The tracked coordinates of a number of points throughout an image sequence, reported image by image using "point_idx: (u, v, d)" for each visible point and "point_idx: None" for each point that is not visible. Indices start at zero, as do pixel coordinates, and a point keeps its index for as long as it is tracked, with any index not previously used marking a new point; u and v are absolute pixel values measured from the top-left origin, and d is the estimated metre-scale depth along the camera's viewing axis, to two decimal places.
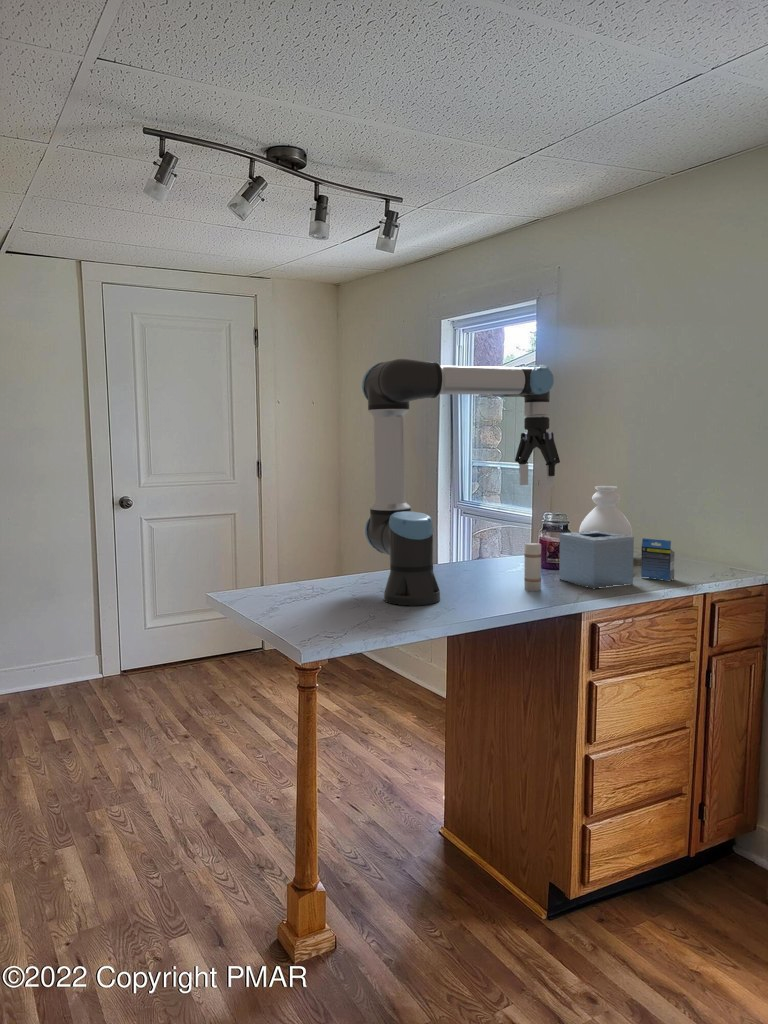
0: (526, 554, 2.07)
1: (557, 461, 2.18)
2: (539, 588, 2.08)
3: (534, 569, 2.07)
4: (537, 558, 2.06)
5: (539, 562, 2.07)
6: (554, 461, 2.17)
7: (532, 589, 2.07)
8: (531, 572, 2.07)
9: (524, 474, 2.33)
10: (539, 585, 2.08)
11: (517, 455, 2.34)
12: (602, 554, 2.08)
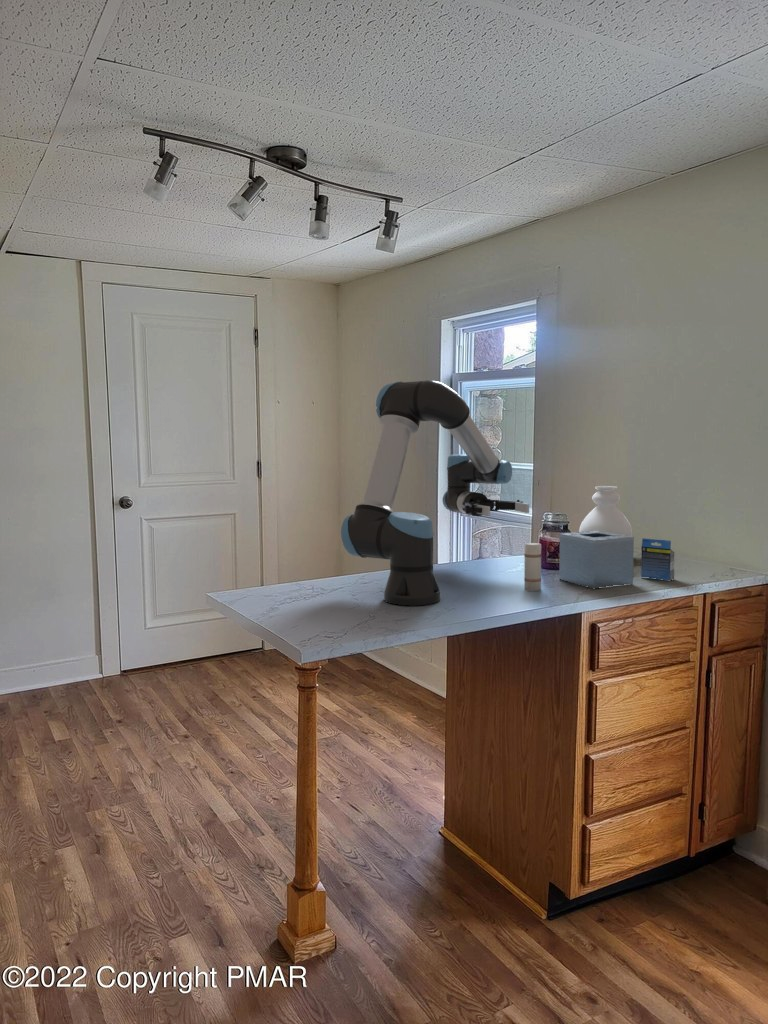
0: (526, 554, 2.07)
1: None
2: (539, 588, 2.08)
3: (534, 569, 2.07)
4: (537, 558, 2.06)
5: (539, 562, 2.07)
6: None
7: (532, 589, 2.07)
8: (531, 572, 2.07)
9: None
10: (539, 585, 2.08)
11: (467, 504, 2.24)
12: (602, 554, 2.08)
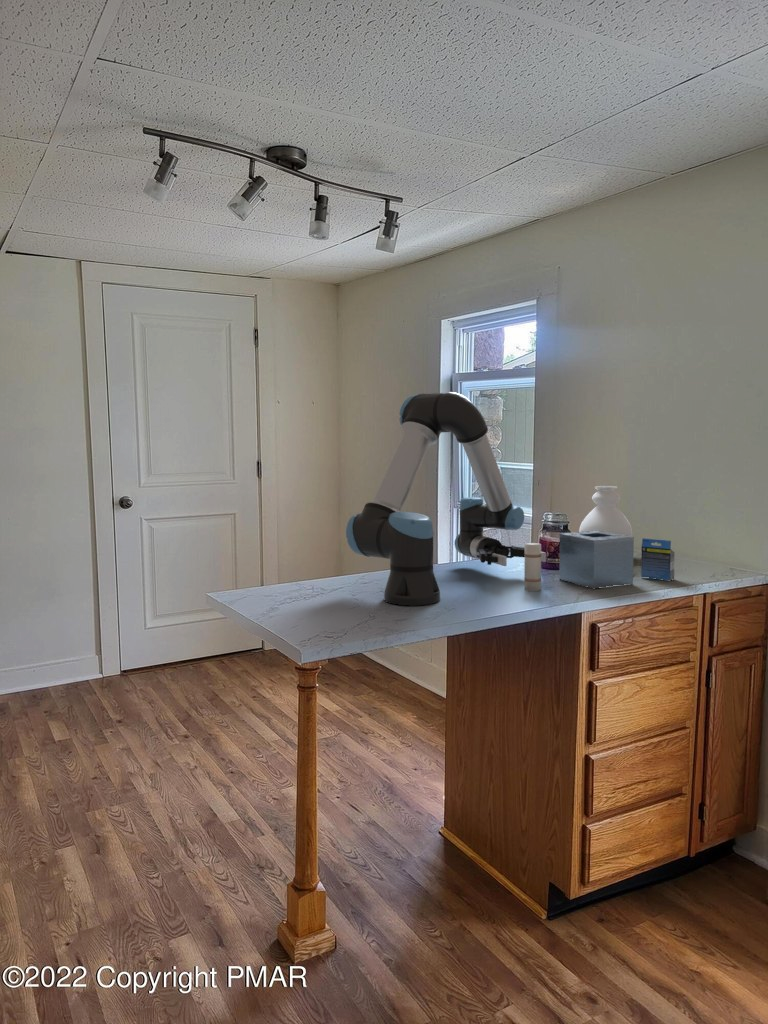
0: (526, 554, 2.07)
1: None
2: (539, 588, 2.08)
3: (534, 569, 2.07)
4: (537, 558, 2.06)
5: (539, 562, 2.07)
6: None
7: (532, 589, 2.07)
8: (531, 572, 2.07)
9: None
10: (539, 585, 2.08)
11: (482, 553, 2.18)
12: (602, 554, 2.08)
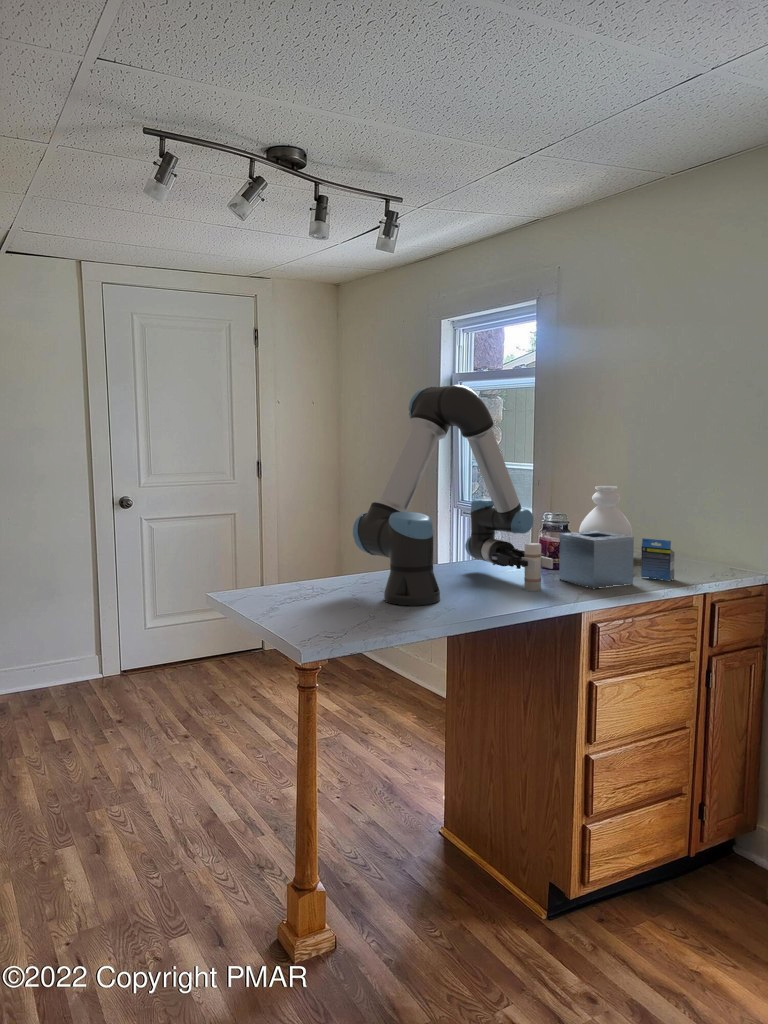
0: (526, 554, 2.07)
1: None
2: (539, 588, 2.08)
3: None
4: (537, 558, 2.06)
5: (539, 562, 2.07)
6: None
7: (532, 589, 2.07)
8: (531, 572, 2.07)
9: None
10: (539, 585, 2.08)
11: (508, 556, 2.10)
12: (602, 554, 2.08)
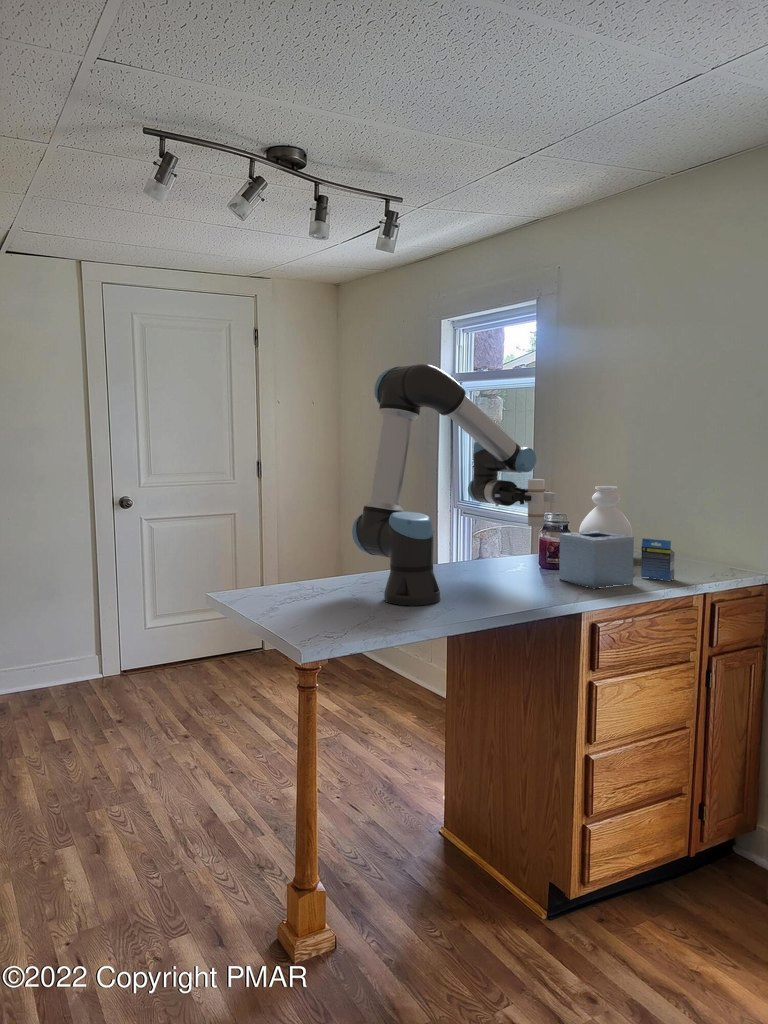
0: (529, 489, 2.06)
1: None
2: (543, 523, 2.07)
3: None
4: (540, 493, 2.05)
5: (542, 497, 2.06)
6: None
7: (535, 524, 2.06)
8: (535, 507, 2.05)
9: None
10: (543, 520, 2.06)
11: (512, 492, 2.09)
12: (602, 554, 2.08)
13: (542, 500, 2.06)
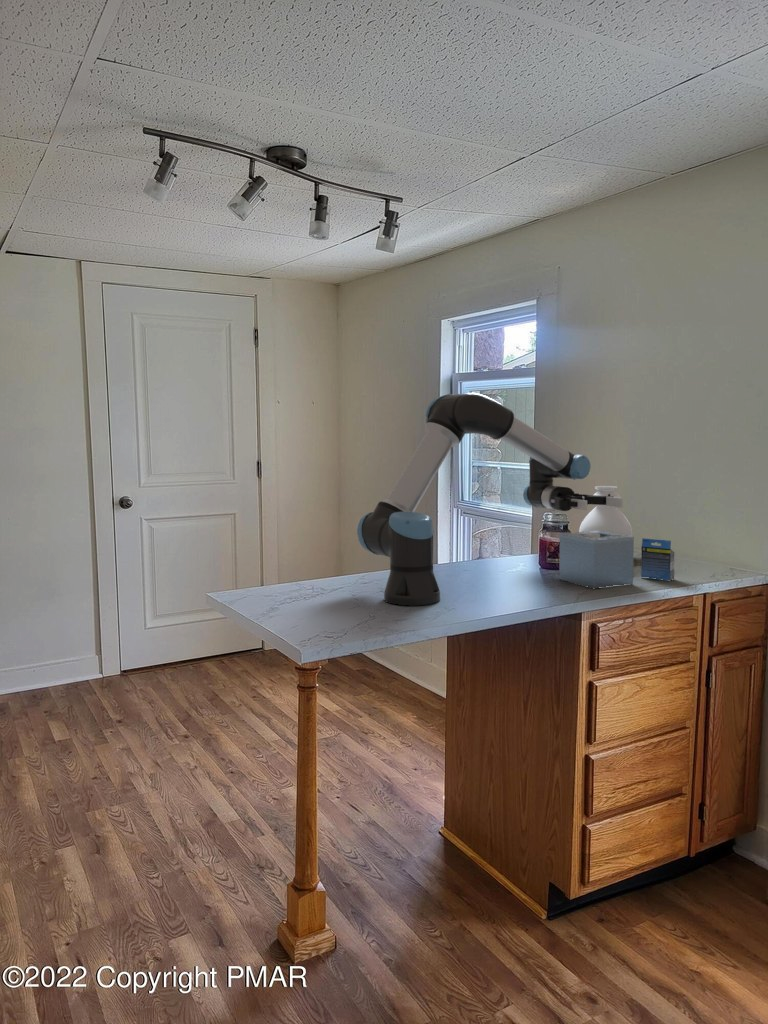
0: None
1: None
2: None
3: None
4: None
5: None
6: None
7: None
8: None
9: None
10: None
11: None
12: (602, 554, 2.08)
13: None
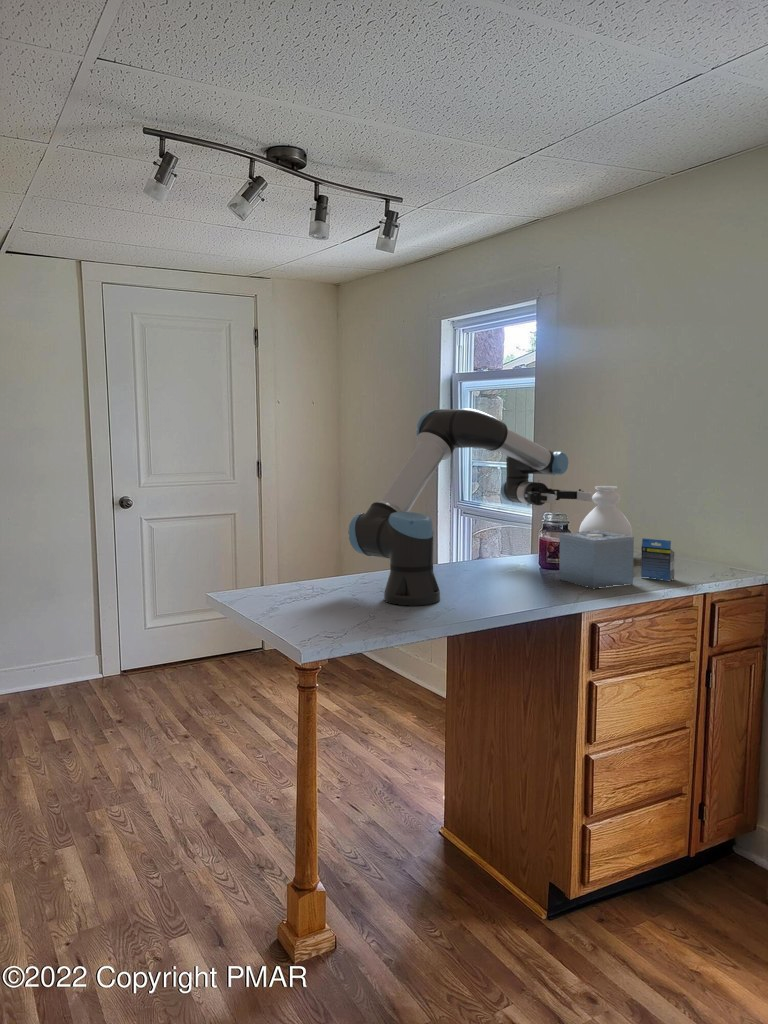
0: None
1: None
2: None
3: None
4: None
5: None
6: None
7: None
8: None
9: None
10: None
11: (531, 493, 2.30)
12: (602, 554, 2.08)
13: None
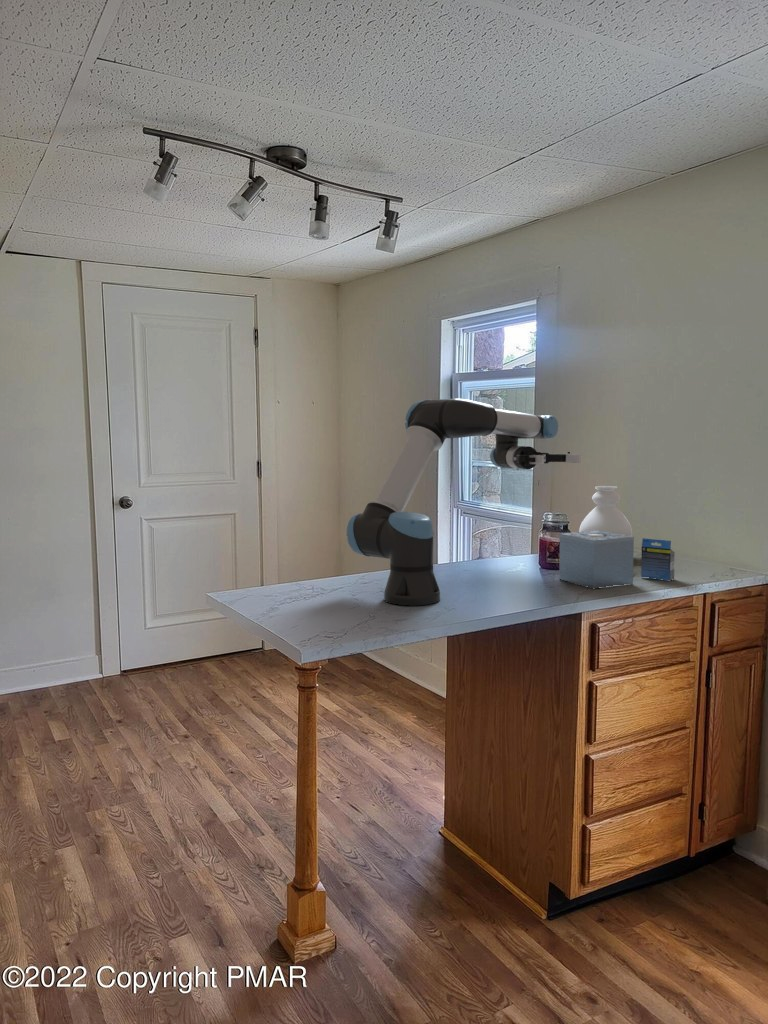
0: None
1: None
2: None
3: None
4: None
5: None
6: None
7: None
8: None
9: None
10: None
11: None
12: (602, 554, 2.08)
13: None
